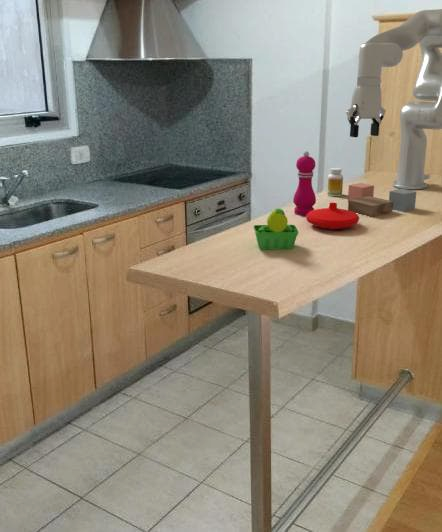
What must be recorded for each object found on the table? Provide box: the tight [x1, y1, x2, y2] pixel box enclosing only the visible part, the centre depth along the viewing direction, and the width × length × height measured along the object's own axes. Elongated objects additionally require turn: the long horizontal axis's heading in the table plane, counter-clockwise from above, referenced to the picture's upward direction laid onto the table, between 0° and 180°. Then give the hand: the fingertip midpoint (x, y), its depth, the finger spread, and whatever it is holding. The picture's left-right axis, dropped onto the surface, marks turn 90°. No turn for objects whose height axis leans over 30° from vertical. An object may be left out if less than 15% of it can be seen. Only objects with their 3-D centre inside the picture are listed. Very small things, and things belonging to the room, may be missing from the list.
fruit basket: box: [252, 208, 299, 250], centre depth 159 cm, size 11×9×11 cm
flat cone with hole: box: [305, 202, 360, 230], centre depth 179 cm, size 16×16×7 cm
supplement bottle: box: [326, 167, 344, 197], centre depth 217 cm, size 5×5×10 cm
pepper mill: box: [292, 151, 317, 217], centre depth 191 cm, size 7×7×20 cm
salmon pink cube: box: [347, 182, 375, 202], centre depth 207 cm, size 6×6×6 cm
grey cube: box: [388, 188, 417, 213], centre depth 198 cm, size 6×6×6 cm
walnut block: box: [347, 196, 394, 218], centre depth 195 cm, size 10×10×4 cm
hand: (364, 136), depth 201 cm, fingers open, 9 cm apart
